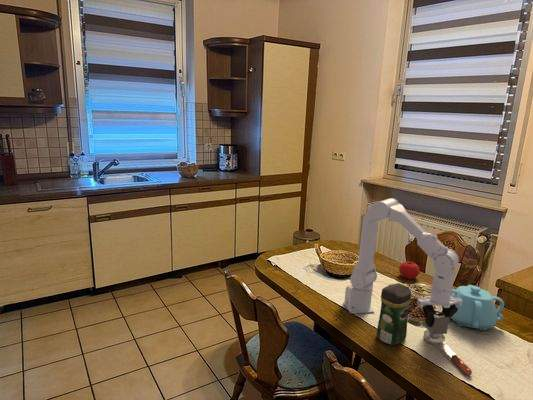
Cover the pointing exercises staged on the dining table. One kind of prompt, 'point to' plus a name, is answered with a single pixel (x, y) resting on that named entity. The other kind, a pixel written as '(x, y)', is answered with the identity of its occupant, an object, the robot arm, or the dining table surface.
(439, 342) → the ratchet
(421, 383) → the dining table surface
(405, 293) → the coffee jar
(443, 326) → the socket
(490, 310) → the decorative pot
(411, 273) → the tomato
